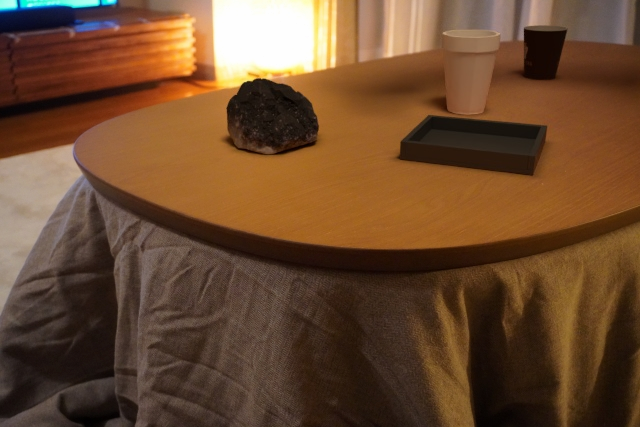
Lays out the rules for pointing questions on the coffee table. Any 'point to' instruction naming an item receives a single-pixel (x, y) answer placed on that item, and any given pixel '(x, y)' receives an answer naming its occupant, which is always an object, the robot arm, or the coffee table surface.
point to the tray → (475, 144)
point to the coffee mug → (542, 51)
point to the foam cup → (468, 68)
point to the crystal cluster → (270, 117)
